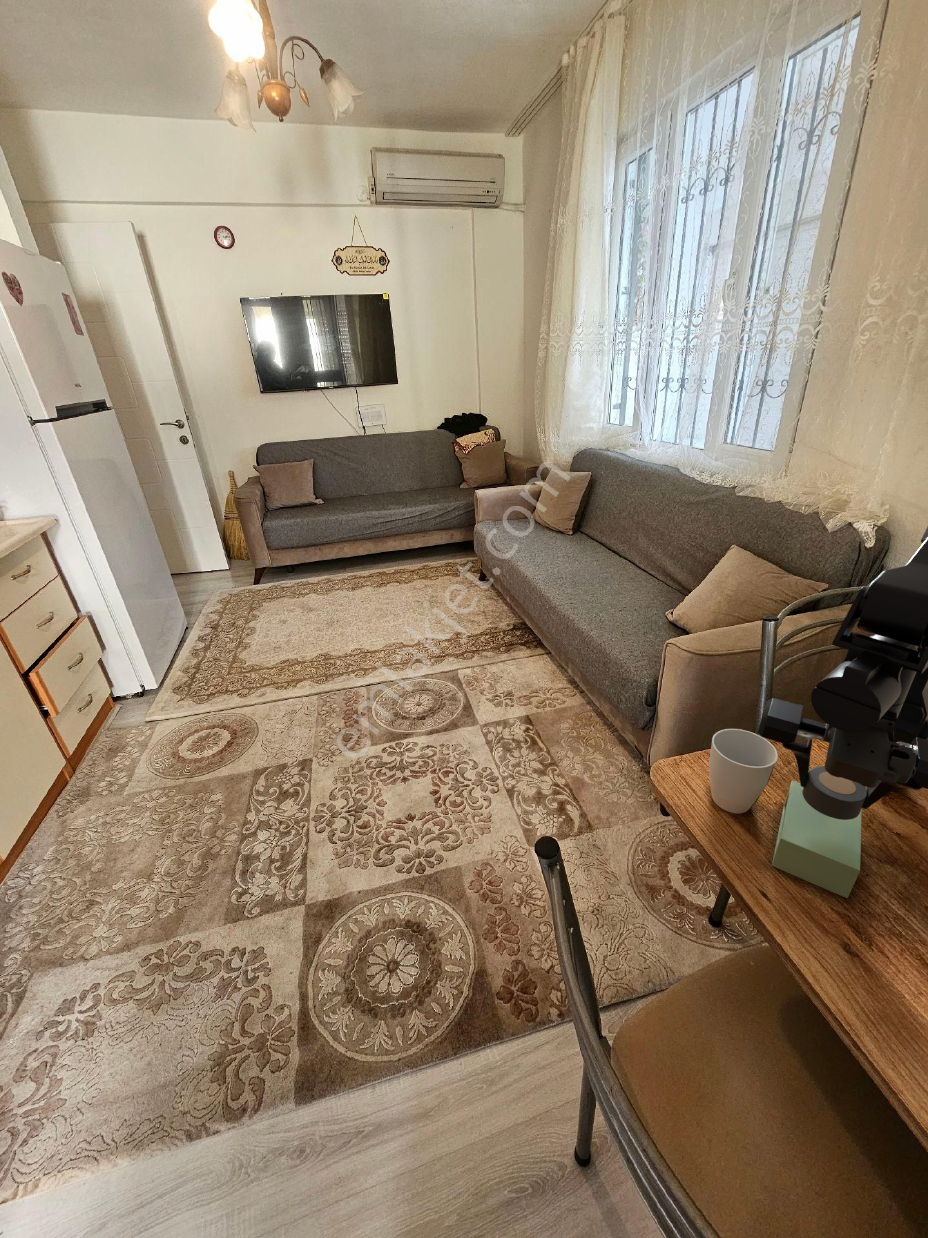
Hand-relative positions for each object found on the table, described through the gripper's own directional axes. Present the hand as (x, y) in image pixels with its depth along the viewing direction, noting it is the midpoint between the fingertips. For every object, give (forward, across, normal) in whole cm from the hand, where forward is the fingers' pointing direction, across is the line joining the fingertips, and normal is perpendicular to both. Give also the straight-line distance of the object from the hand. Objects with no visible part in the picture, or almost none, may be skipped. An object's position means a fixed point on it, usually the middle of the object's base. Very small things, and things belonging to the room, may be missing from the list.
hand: (832, 795), depth 63 cm
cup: (+10, -10, +3) cm, 14 cm away
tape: (+1, 0, 0) cm, 1 cm away
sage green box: (+9, 0, 0) cm, 9 cm away
